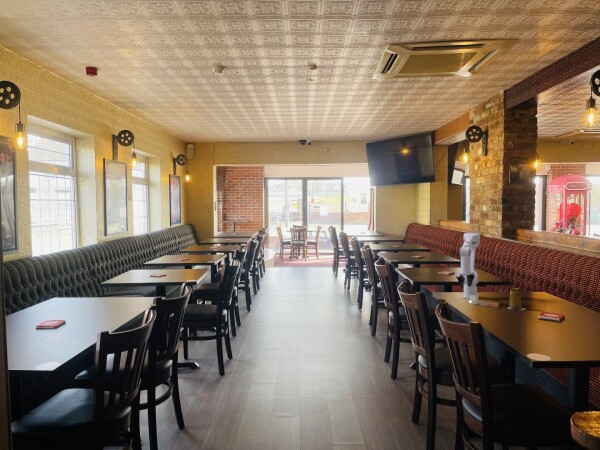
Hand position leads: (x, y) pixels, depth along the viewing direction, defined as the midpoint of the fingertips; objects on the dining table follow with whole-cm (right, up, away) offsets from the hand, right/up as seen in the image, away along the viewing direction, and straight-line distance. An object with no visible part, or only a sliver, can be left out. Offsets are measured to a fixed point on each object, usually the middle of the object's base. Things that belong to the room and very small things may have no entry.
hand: (465, 286), depth 276 cm
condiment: (+23, -11, -18) cm, 31 cm away
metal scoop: (+8, -10, -8) cm, 15 cm away
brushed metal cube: (+4, -8, -4) cm, 10 cm away
